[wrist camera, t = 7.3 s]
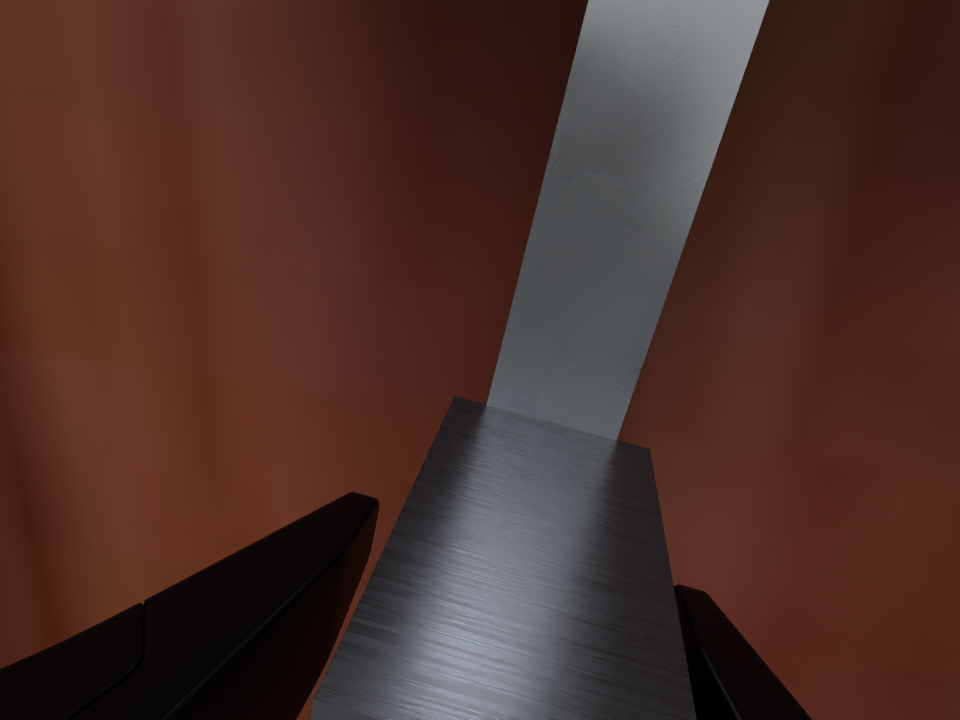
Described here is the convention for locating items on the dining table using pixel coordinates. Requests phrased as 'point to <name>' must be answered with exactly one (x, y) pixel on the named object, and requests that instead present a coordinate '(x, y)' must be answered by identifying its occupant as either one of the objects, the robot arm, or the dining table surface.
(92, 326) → the dining table surface
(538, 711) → the grey l-shaped block
